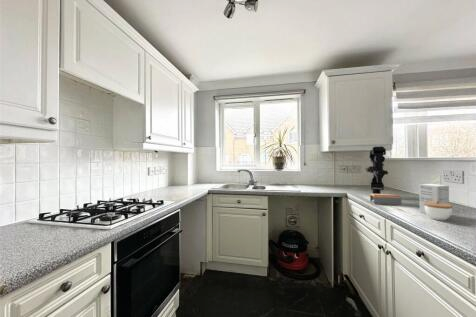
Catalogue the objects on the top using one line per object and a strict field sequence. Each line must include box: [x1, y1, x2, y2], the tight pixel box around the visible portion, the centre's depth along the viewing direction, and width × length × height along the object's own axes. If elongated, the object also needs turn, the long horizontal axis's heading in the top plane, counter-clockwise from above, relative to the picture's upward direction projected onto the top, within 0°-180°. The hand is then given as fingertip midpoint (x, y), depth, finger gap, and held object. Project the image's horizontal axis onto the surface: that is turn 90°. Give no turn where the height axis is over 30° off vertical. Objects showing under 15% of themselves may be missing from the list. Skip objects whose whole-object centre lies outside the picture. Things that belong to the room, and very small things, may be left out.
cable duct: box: [369, 194, 402, 206], centre depth 145 cm, size 9×16×5 cm, turn 73°
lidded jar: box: [424, 201, 453, 221], centre depth 108 cm, size 11×11×9 cm
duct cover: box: [369, 193, 402, 199], centre depth 144 cm, size 8×16×1 cm, turn 73°
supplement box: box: [418, 183, 450, 215], centre depth 117 cm, size 10×9×17 cm
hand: (378, 183), depth 156 cm, fingers closed
